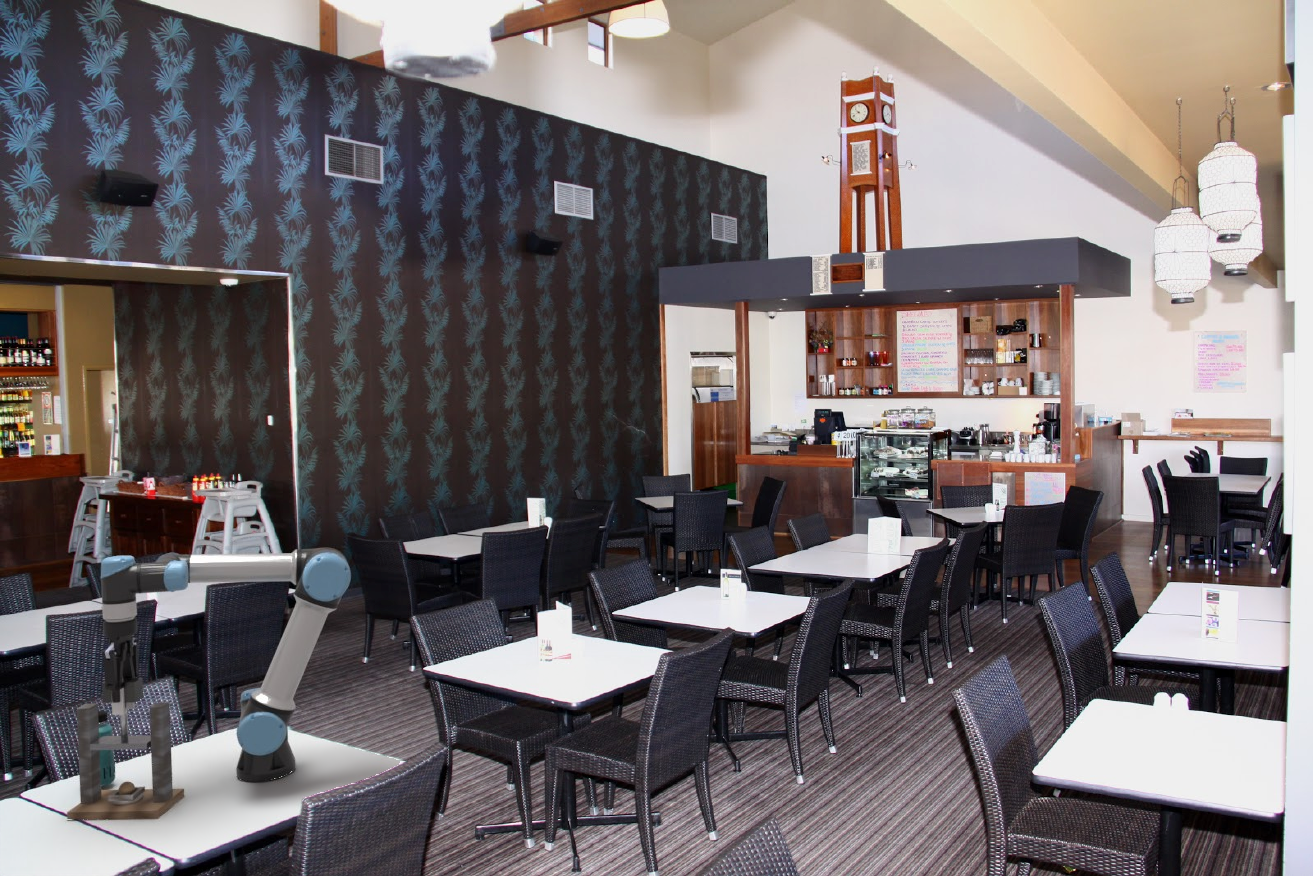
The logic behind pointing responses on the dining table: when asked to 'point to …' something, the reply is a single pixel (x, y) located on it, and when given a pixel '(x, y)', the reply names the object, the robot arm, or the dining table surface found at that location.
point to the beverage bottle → (106, 752)
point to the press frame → (110, 801)
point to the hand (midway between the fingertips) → (123, 711)
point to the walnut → (126, 788)
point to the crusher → (124, 720)
